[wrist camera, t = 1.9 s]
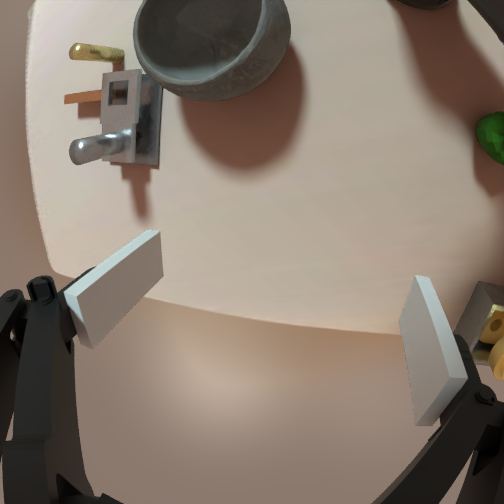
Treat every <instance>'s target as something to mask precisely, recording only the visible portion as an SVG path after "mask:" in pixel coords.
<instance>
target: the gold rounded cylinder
mask: <svg viewBox="0 0 504 504" xmlns="http://www.w3.org/2000/svg"><path fill="white" fill-rule="evenodd" d="M69 57H70V59H72V60H86V61H99V62H110V63H120V62H121V61H122V60H123V58H124V51H123V50H122V49H117V48H111V47H105V46H98V45H90V44H82V43H75V44H74V45H73V46H72V47H71V49H70V51H69Z"/></svg>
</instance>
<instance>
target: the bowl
mask: <svg viewBox="0 0 504 504" xmlns="http://www.w3.org/2000/svg"><path fill="white" fill-rule="evenodd" d="M290 35H291V24H290V18H289V14H288V11H287V7H286V5H285V3H284V1H283V0H143V2H142V4H141V6H140V8H139V10H138V12H137V15H136V18H135V21H134V29H133V40H134V47H135V51H136V55H137V58H138V60H139V63H140V65H141V66H142V68H143V69H144V71H145V72H146V73H147V75H148V76H149V77H150V78H152V79H153V80H154V81H155V82H156V83H158V84H159V85H160V86H162V87H163V88H165V89H167V90H168V91H170V92H172V93H174V94H175V95H178V96H180V97H184V98H187V99H191V100H198V101H223V100H227V99H231V98H234V97H237V96H240V95H242V94H244V93H247V92H248V91H250V90H252V89H254V88H255V87H257V86H258V85H260V84H261V83H263V82H264V81H265V80H266V79H267V78H268V77H269V76H270V75H271V74H272V72H273V71H274V70H275V69H276V68H277V66H278V65H279V63H280V62H281V60H282V58H283V57H284V54H285V51H286V49H287V46H288V43H289V40H290Z"/></svg>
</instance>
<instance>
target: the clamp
mask: <svg viewBox="0 0 504 504" xmlns="http://www.w3.org/2000/svg"><path fill="white" fill-rule="evenodd" d="M479 340H480V341H482V342H484V343H490V344H495V345H494V347H493V348H492V350H491V352H490V355H489V364H490V366H491V369H492V371H493V374H494V377H495V378H496V379H497V380H501V381H504V312H502V311H497V310H495V311H494V313H493V315H492V317H491V319H490V320H489V322H488V324H487V326H486V328H485V329H484V331H483V333H482V335H481V336H480V338H479Z"/></svg>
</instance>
